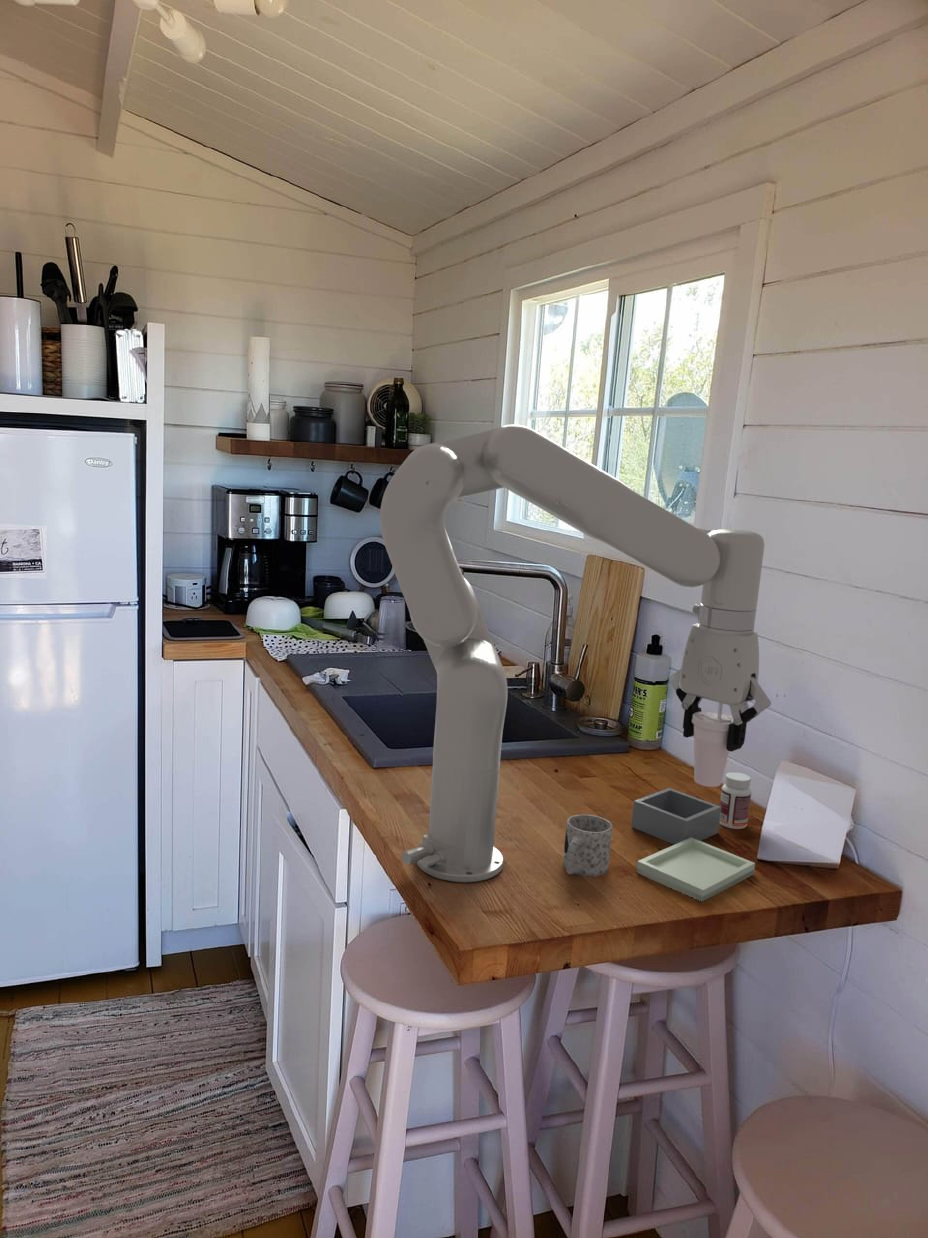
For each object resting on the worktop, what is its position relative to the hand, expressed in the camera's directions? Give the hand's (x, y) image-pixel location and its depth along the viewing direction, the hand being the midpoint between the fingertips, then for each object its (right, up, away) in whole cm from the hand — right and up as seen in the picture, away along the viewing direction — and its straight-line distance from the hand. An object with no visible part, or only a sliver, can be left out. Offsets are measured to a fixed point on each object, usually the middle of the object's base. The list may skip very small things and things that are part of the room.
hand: (712, 741), depth 137 cm
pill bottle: (+9, -17, +23) cm, 30 cm away
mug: (-18, -19, +3) cm, 27 cm away
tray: (-1, -20, +4) cm, 20 cm away
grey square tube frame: (-1, -17, +19) cm, 26 cm away
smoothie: (0, -6, +1) cm, 6 cm away
